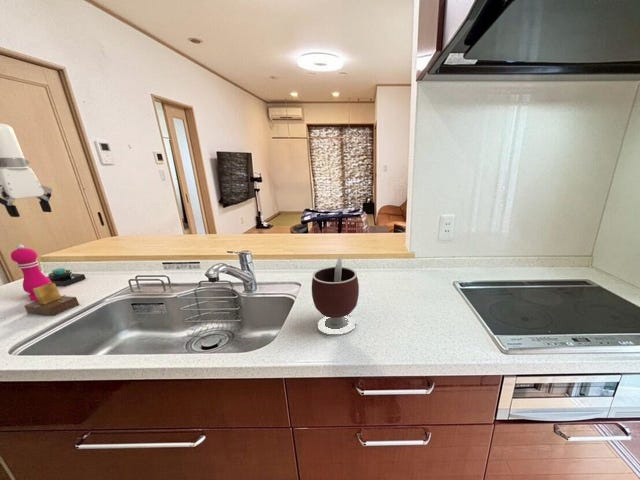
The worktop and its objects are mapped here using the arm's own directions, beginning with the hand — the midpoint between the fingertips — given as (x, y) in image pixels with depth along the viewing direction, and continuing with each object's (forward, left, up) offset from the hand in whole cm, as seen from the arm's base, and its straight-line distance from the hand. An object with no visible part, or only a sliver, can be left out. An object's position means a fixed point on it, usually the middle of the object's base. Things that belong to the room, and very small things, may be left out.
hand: (32, 214), depth 107 cm
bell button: (-3, +3, -25) cm, 25 cm away
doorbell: (-3, +3, -28) cm, 29 cm away
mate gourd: (+116, -11, -28) cm, 120 cm away
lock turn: (+19, -17, -25) cm, 36 cm away
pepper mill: (+5, -10, -28) cm, 31 cm away
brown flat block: (+19, -17, -28) cm, 38 cm away
